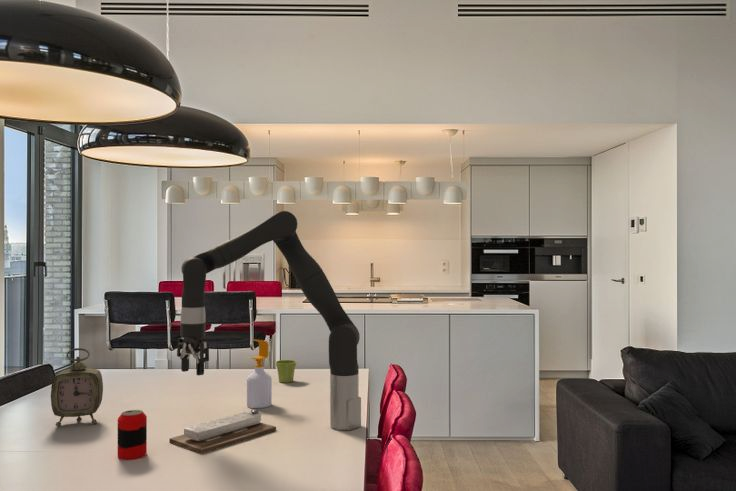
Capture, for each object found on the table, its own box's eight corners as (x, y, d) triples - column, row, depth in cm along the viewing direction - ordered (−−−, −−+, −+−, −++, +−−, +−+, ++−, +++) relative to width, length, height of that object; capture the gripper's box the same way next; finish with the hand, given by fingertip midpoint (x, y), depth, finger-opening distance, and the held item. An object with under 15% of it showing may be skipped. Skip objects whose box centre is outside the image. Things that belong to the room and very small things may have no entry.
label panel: (276, 430, 190) (276, 424, 190) (201, 453, 168) (201, 447, 168) (243, 421, 200) (243, 415, 200) (169, 442, 178) (169, 436, 178)
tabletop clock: (50, 429, 191) (50, 351, 191) (57, 421, 200) (57, 346, 200) (99, 425, 195) (99, 349, 195) (103, 418, 204) (104, 345, 204)
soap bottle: (241, 406, 218) (241, 339, 219) (257, 401, 226) (257, 336, 227) (261, 409, 214) (261, 341, 214) (276, 404, 222) (276, 338, 223)
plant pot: (272, 380, 263) (272, 360, 263) (293, 378, 267) (293, 359, 267) (278, 384, 254) (278, 364, 254) (299, 382, 258) (299, 362, 258)
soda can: (137, 449, 172) (137, 407, 172) (151, 455, 167) (151, 412, 167) (112, 456, 166) (112, 413, 166) (126, 462, 161) (126, 418, 161)
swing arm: (266, 421, 192) (266, 411, 192) (198, 441, 172) (198, 430, 172) (252, 417, 197) (252, 407, 197) (184, 436, 177) (184, 425, 177)
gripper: (216, 322, 185) (215, 374, 185) (191, 318, 194) (190, 368, 194) (195, 324, 179) (194, 378, 179) (170, 320, 189) (169, 371, 188)
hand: (192, 373), depth 187 cm, fingers open, 8 cm apart
